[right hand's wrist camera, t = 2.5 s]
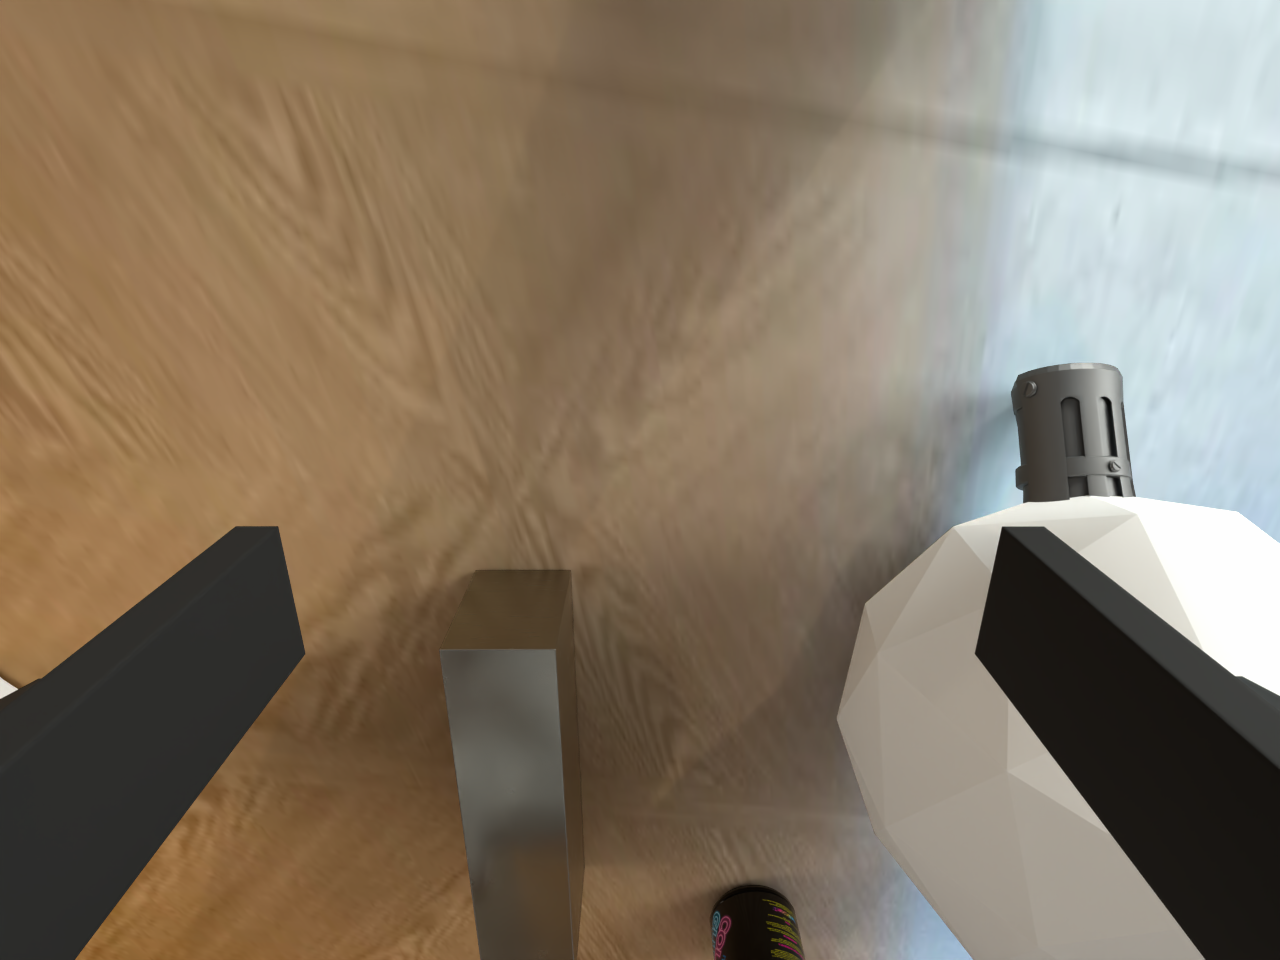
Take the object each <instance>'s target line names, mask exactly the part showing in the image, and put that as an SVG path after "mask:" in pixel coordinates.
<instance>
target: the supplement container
mask: <svg viewBox="0 0 1280 960" xmlns="http://www.w3.org/2000/svg"><path fill="white" fill-rule="evenodd" d="M710 925H711V935H712V945H713V955H714V960H805V956H804V951H803V947H802V942H801V938H800V933H799V929H798V924H797V920H796V915H795V911H794V908H793V906H792V905H791V903H790V902H789V901H788V899H787V898H786V897H785V896H784V895H782V894H781V893H780V892H778V891H776V890H774V889H772V888H769V887H766V886H761V885H747V886H741V887H738V888H735V889H733V890H730V891H729V892H727V893H725V894H724V895H723V896H722V897H721V898H720V899H719V900H718V901H717V902H716V904H715V906H714V907H713V910H712V913H711V917H710Z"/></svg>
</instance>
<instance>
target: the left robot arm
mask: <svg viewBox="0 0 1280 960" xmlns="http://www.w3.org/2000/svg"><path fill="white" fill-rule="evenodd" d="M16 690H18V689H17V688H16V687H14V686H12V685H11V684H9V683H8V682H6V681H5V680H3V679H2V678H1V677H0V699H1V698H3V697H5V696H7V695H9V694H10V693H12V692H14V691H16Z"/></svg>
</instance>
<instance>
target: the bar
mask: <svg viewBox="0 0 1280 960" xmlns="http://www.w3.org/2000/svg"><path fill="white" fill-rule="evenodd" d="M439 652H440V659H441V667H442V674H443V682H444V689H445V697H446V704H447V712H448V719H449V727H450V734H451V742H452V749H453V757H454V764H455V772H456V779H457V787H458V794H459V802H460V809H461V817H462V824H463V832H464V839H465V847H466V854H467V862H468V869H469V877H470V884H471V892H472V899H473V907H474V914H475V922H476V930H477V937H478V945H479V952H480V960H577V953H578V941H579V929H580V917H581V905H582V894H583V882H584V870H585V864H584V842H583V821H582V799H581V778H580V756H579V735H578V713H577V692H576V670H575V649H574V627H573V606H572V584H571V570H476V571H475V573H474V575H473V577H472V579H471V581H470V584H469V586H468V588H467V590H466V592H465V595H464V597H463V599H462V601H461V603H460V606H459V608H458V610H457V612H456V614H455V617H454V619H453V621H452V623H451V625H450V627H449V630H448V632H447V634H446V636H445V638H444V641H443V643H442V645H441V647H440V649H439Z"/></svg>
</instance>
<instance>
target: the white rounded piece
mask: <svg viewBox="0 0 1280 960" xmlns="http://www.w3.org/2000/svg"><path fill="white" fill-rule="evenodd" d="M1011 396H1012V403H1013V410H1014V415H1015V416H1016V421H1017V426H1018V435H1019V447H1020V458H1021V466H1019V467H1018V468H1017V469H1016V471H1015V472H1016V487H1017V488H1018V489H1020V490H1023V504H1020V505H1017V506H1014V507H1011V508H1008V509H1005V510H1002V511H999V512H996V513H993V514H990V515H987V516H984V517H981V518H978V519H975V520H972V521H968V522H965V523H962V524H959V525H956V526H953V527H952V528H951V529H950V530H948V531H947V532H946V533H945V534H944V535H943V536H942V537H940V538H939V539H938V540H937V541H936V542H935V543H934V544H932V545H931V546H930V547H929V548H928V549H927V550H926V551H924V552H923V553H922V554H921V555H920V556H919V557H918V558H916V559H915V560H914V561H913V562H912V563H911V564H910V565H908V566H907V567H906V568H905V569H904V570H903V571H902V572H900V573H899V574H898V575H897V576H896V577H895V578H894V579H892V580H891V581H890V582H889V583H888V584H887V585H886V586H884V587H883V588H882V589H881V590H880V591H879V592H878V593H876V594H875V595H874V596H873V597H872V598H871V599H870V600H868V601H867V602H866V603H865V606H864V610H863V614H862V618H861V622H860V626H859V630H858V634H857V638H856V642H855V646H854V650H853V654H852V658H851V662H850V666H849V670H848V674H847V678H846V682H845V686H844V690H843V694H842V698H841V703H840V707H839V711H838V715H837V722H838V725H839V728H840V731H841V734H842V737H843V740H844V743H845V746H846V749H847V752H848V755H849V758H850V761H851V764H852V767H853V770H854V773H855V776H856V779H857V782H858V785H859V788H860V791H861V794H862V797H863V800H864V803H865V806H866V809H867V812H868V815H869V818H870V821H871V824H872V827H873V830H874V833H875V834H876V836H877V837H878V838H879V840H880V841H881V842H882V843H883V845H884V846H885V847H886V849H887V850H888V851H889V852H890V854H891V855H892V856H893V857H894V859H895V860H896V861H897V863H898V864H899V865H900V866H901V868H902V869H903V870H904V872H905V873H906V874H907V875H908V877H909V878H910V879H911V880H912V882H913V883H914V884H915V886H916V887H917V888H918V889H919V891H920V892H921V893H922V894H923V896H924V897H925V898H926V900H927V901H928V902H929V903H930V905H931V906H932V907H933V909H934V910H935V911H936V912H937V914H938V915H939V916H940V917H941V919H942V920H943V921H944V923H945V924H946V925H947V926H948V928H949V929H950V930H951V932H952V933H953V934H954V935H955V937H956V938H957V939H958V940H959V942H960V943H961V944H962V946H963V947H964V948H965V949H966V951H967V952H968V953H969V955H970V956H971V957H972V958H973V960H1205V959H1204V957H1203V956H1202V955H1201V953H1200V952H1199V951H1198V949H1197V948H1196V947H1195V945H1194V944H1193V943H1192V941H1191V940H1190V939H1189V937H1188V936H1187V935H1186V933H1185V932H1184V931H1183V930H1182V928H1181V927H1180V926H1179V924H1178V923H1177V922H1176V920H1175V919H1174V918H1173V916H1172V915H1171V914H1170V912H1169V911H1168V910H1167V908H1166V907H1165V906H1164V904H1163V903H1162V902H1161V900H1160V899H1159V898H1158V896H1157V895H1156V894H1155V892H1154V891H1153V890H1152V888H1151V887H1150V886H1149V884H1148V883H1147V882H1146V880H1145V879H1144V878H1143V876H1142V875H1141V874H1140V872H1139V871H1138V870H1137V868H1136V867H1135V866H1134V864H1133V863H1132V862H1131V861H1130V859H1129V858H1128V857H1127V855H1126V854H1125V853H1124V851H1123V850H1122V849H1121V847H1120V846H1119V845H1118V843H1117V842H1116V841H1115V839H1114V838H1113V837H1112V835H1111V834H1110V833H1109V831H1108V830H1107V829H1106V827H1105V826H1104V825H1103V823H1102V822H1101V821H1100V819H1099V818H1098V817H1097V815H1096V814H1095V813H1094V811H1093V810H1092V809H1091V807H1090V806H1089V805H1088V803H1087V802H1086V801H1085V799H1084V798H1083V797H1082V796H1081V794H1080V793H1079V792H1078V790H1077V789H1076V788H1075V786H1074V785H1073V784H1072V782H1071V781H1070V780H1069V778H1068V777H1067V776H1066V774H1065V773H1064V772H1063V770H1062V769H1061V768H1060V766H1059V765H1058V764H1057V762H1056V761H1055V760H1054V758H1053V757H1052V756H1051V754H1050V753H1049V752H1048V750H1047V749H1046V748H1045V746H1044V745H1043V744H1042V742H1041V741H1040V740H1039V738H1038V737H1037V736H1036V734H1035V733H1034V732H1033V731H1032V729H1031V728H1030V727H1029V725H1028V724H1027V723H1026V721H1025V720H1024V719H1023V717H1022V716H1021V715H1020V713H1019V712H1018V711H1017V709H1016V708H1015V707H1014V705H1013V704H1012V703H1011V701H1010V700H1009V699H1008V697H1007V696H1006V695H1005V693H1004V692H1003V691H1002V689H1001V688H1000V687H999V685H998V684H997V683H996V681H995V680H994V679H993V677H992V676H991V675H990V673H989V672H988V671H987V669H986V668H985V667H984V665H983V664H982V663H981V662H980V660H979V659H978V658H977V656H976V655H975V650H976V645H977V640H978V636H979V631H980V626H981V622H982V617H983V612H984V608H985V603H986V598H987V594H988V589H989V584H990V580H991V575H992V570H993V566H994V561H995V556H996V552H997V547H998V542H999V538H1000V533H1001V528H1002V526H1044V527H1045V528H1047V529H1048V530H1049V531H1051V532H1052V533H1053V534H1054V535H1056V536H1057V537H1058V538H1060V539H1061V540H1062V541H1063V542H1065V543H1066V544H1067V545H1068V546H1070V547H1071V548H1072V549H1074V550H1075V551H1076V552H1077V553H1079V554H1080V555H1081V556H1083V557H1084V558H1085V559H1086V560H1088V561H1089V562H1090V563H1091V564H1093V565H1094V566H1095V567H1097V568H1098V569H1099V570H1100V571H1102V572H1103V573H1104V574H1105V575H1107V576H1108V577H1109V578H1111V579H1112V580H1113V581H1114V582H1116V583H1117V584H1118V585H1120V586H1121V587H1122V588H1123V589H1125V590H1126V591H1127V592H1128V593H1130V594H1131V595H1132V596H1134V597H1135V598H1136V599H1137V600H1139V601H1140V602H1141V603H1142V604H1144V605H1145V606H1146V607H1148V608H1149V609H1150V610H1151V611H1153V612H1154V613H1155V614H1157V615H1158V616H1159V617H1160V618H1162V619H1163V620H1164V621H1165V622H1167V623H1168V624H1169V625H1171V626H1172V627H1173V628H1174V629H1176V630H1177V631H1178V632H1180V633H1181V634H1182V635H1183V636H1185V637H1186V638H1187V639H1188V640H1190V641H1191V642H1192V643H1194V644H1195V645H1196V646H1197V647H1199V648H1200V649H1201V650H1202V651H1204V652H1205V653H1206V654H1208V655H1209V656H1210V657H1211V658H1213V659H1214V660H1215V661H1217V662H1218V663H1219V664H1220V665H1222V666H1223V667H1224V668H1225V669H1227V670H1228V671H1229V672H1231V673H1232V674H1233V675H1234V676H1243V677H1245V678H1247V679H1248V680H1250V681H1252V682H1254V683H1256V684H1258V685H1260V686H1262V687H1264V688H1266V689H1268V690H1270V691H1272V692H1273V693H1275V694H1277V695H1279V696H1280V544H1279V543H1278V542H1276V541H1275V540H1274V539H1272V538H1271V537H1270V536H1268V535H1267V534H1266V533H1264V532H1263V531H1262V530H1260V529H1259V528H1258V527H1257V526H1255V525H1254V524H1253V523H1251V522H1250V521H1249V520H1247V519H1246V518H1245V517H1243V516H1242V515H1241V514H1239V513H1238V512H1234V511H1227V510H1220V509H1214V508H1207V507H1200V506H1193V505H1186V504H1179V503H1172V502H1166V501H1159V500H1152V499H1145V498H1138V497H1136V495H1135V490H1134V485H1133V479H1132V471H1131V463H1130V454H1129V446H1128V438H1127V429H1126V421H1125V413H1124V403H1123V377H1122V375H1121V373H1120V371H1119V370H1118V368H1116V367H1114V366H1111V365H1108V364H1102V363H1070V364H1061V365H1054V366H1048V367H1043V368H1039V369H1035V370H1031V371H1028V372H1025V373H1023V374H1020V375H1018V377H1017V380H1016V381H1015V383H1014V386H1013V389H1012V391H1011Z"/></svg>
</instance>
